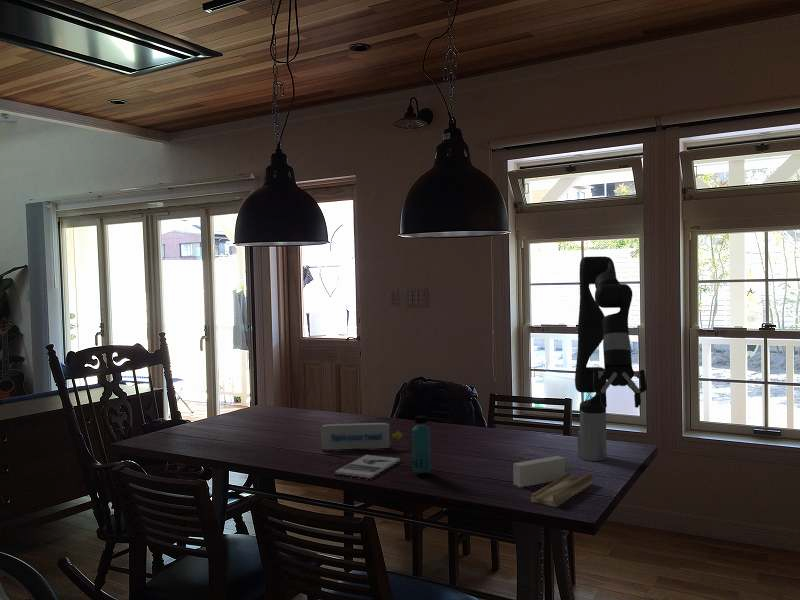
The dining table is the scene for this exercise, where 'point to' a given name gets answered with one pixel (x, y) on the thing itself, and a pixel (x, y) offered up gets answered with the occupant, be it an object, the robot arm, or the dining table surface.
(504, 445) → the dining table surface
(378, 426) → the decorative sign
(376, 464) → the book
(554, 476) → the white rectangular block
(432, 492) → the dining table surface
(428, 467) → the beverage bottle
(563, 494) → the wooden grooved tray
